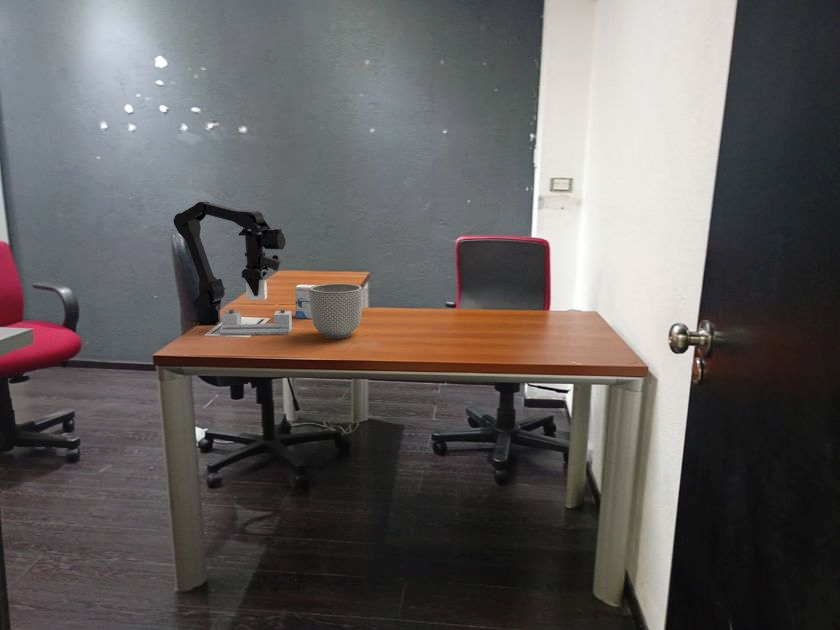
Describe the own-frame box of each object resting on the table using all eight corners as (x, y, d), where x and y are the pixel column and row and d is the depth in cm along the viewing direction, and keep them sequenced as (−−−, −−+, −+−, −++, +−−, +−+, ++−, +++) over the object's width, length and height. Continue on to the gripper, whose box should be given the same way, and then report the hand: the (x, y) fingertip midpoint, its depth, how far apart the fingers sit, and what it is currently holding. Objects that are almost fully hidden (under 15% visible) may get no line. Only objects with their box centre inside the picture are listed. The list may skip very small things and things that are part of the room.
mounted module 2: (274, 332, 206) (273, 311, 205) (277, 328, 212) (276, 308, 211) (289, 332, 207) (288, 311, 205) (291, 327, 213) (291, 307, 211)
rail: (220, 335, 202) (219, 326, 202) (222, 333, 205) (222, 324, 205) (288, 334, 204) (288, 325, 203) (289, 332, 207) (289, 323, 206)
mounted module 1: (222, 333, 205) (221, 312, 204) (226, 328, 211) (225, 308, 209) (237, 332, 206) (236, 312, 204) (241, 328, 211) (240, 308, 210)
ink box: (295, 318, 227) (294, 286, 224) (299, 315, 232) (298, 284, 229) (318, 319, 226) (317, 287, 224) (321, 315, 231) (320, 284, 228)
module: (247, 300, 209) (245, 280, 208) (249, 297, 214) (248, 277, 212) (265, 299, 210) (263, 280, 208) (267, 297, 214) (266, 277, 213)
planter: (318, 345, 191) (317, 294, 188) (304, 332, 207) (302, 285, 203) (371, 339, 199) (370, 290, 195) (353, 327, 214) (352, 281, 210)
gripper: (274, 251, 200) (277, 299, 203) (282, 245, 218) (284, 289, 221) (239, 252, 199) (243, 300, 202) (250, 246, 217) (253, 290, 220)
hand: (257, 294), depth 211 cm, fingers closed on module, 5 cm apart
